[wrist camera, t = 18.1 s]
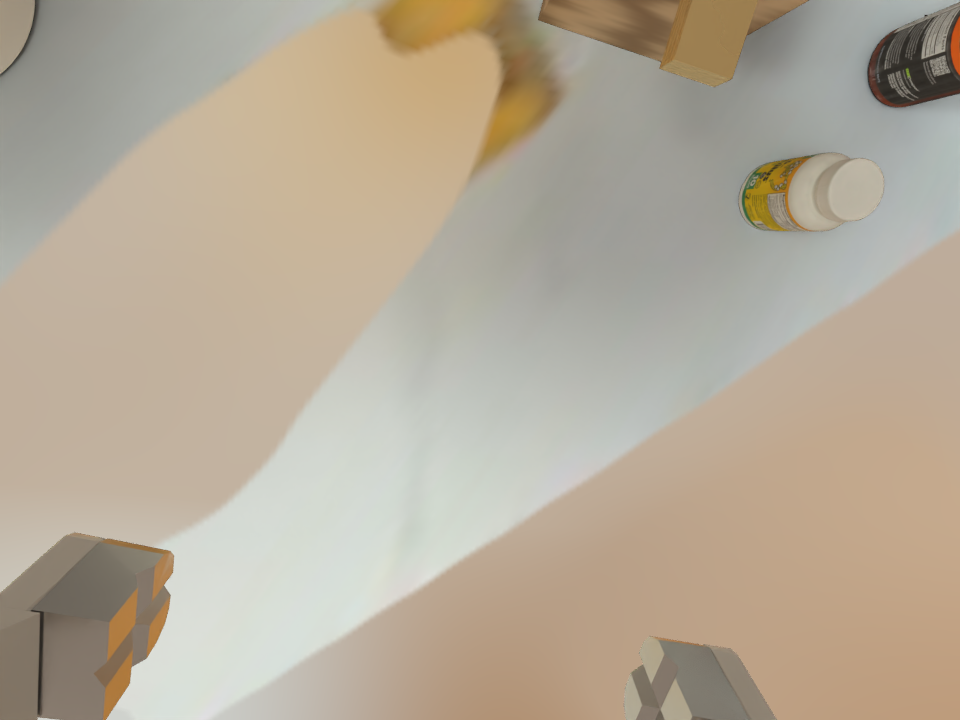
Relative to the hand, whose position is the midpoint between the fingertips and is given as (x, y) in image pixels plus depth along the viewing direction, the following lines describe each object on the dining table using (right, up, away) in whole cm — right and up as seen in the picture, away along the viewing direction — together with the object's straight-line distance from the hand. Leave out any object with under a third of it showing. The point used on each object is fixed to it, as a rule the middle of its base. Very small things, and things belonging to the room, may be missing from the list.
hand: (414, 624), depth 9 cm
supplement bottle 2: (+35, +28, +35) cm, 56 cm away
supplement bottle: (+25, +18, +36) cm, 47 cm away
